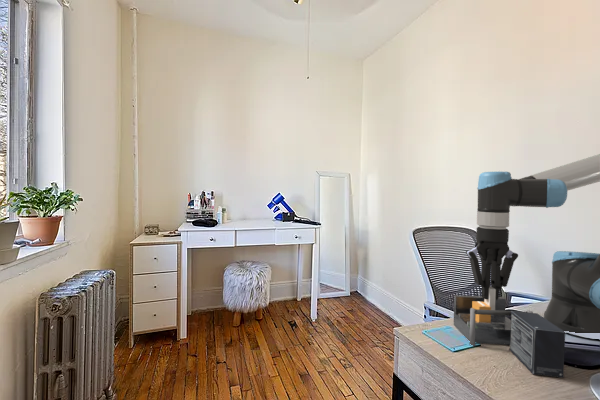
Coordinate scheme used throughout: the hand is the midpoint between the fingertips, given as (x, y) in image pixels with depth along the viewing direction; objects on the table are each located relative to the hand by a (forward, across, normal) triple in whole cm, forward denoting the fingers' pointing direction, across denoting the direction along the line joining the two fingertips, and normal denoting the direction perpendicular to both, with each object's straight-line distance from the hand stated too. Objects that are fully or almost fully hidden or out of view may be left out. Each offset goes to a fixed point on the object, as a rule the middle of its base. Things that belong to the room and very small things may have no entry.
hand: (489, 310), depth 81 cm
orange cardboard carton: (+3, +2, 0) cm, 4 cm away
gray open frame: (+7, 0, +6) cm, 9 cm away
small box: (+8, -4, +12) cm, 15 cm away
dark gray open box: (+7, 0, 0) cm, 7 cm away
